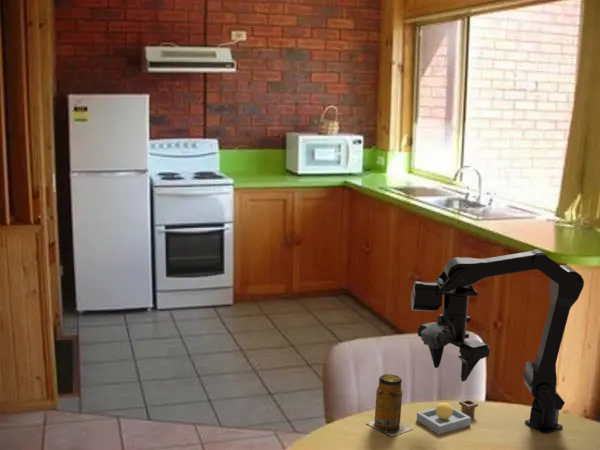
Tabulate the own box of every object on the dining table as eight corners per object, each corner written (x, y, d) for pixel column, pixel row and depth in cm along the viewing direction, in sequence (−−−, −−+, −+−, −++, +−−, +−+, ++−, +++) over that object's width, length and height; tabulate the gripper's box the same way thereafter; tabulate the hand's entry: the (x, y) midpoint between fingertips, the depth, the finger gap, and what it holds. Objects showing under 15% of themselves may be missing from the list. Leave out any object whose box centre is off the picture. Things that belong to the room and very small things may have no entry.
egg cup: (467, 410, 186) (468, 398, 186) (476, 416, 184) (478, 403, 183) (458, 413, 185) (459, 401, 184) (467, 418, 182) (468, 406, 181)
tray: (447, 411, 185) (447, 404, 185) (470, 425, 179) (470, 417, 178) (416, 420, 180) (417, 412, 180) (439, 434, 173) (439, 426, 173)
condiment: (387, 416, 182) (390, 370, 179) (413, 429, 175) (416, 381, 173) (365, 423, 177) (368, 376, 175) (391, 438, 171) (395, 389, 168)
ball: (444, 413, 182) (445, 398, 181) (455, 420, 179) (456, 404, 178) (431, 417, 180) (432, 401, 179) (443, 424, 176) (444, 408, 176)
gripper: (402, 305, 178) (398, 366, 182) (458, 329, 163) (452, 395, 166) (437, 299, 184) (432, 358, 188) (493, 321, 169) (487, 386, 172)
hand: (449, 374), depth 178 cm, fingers open, 9 cm apart
